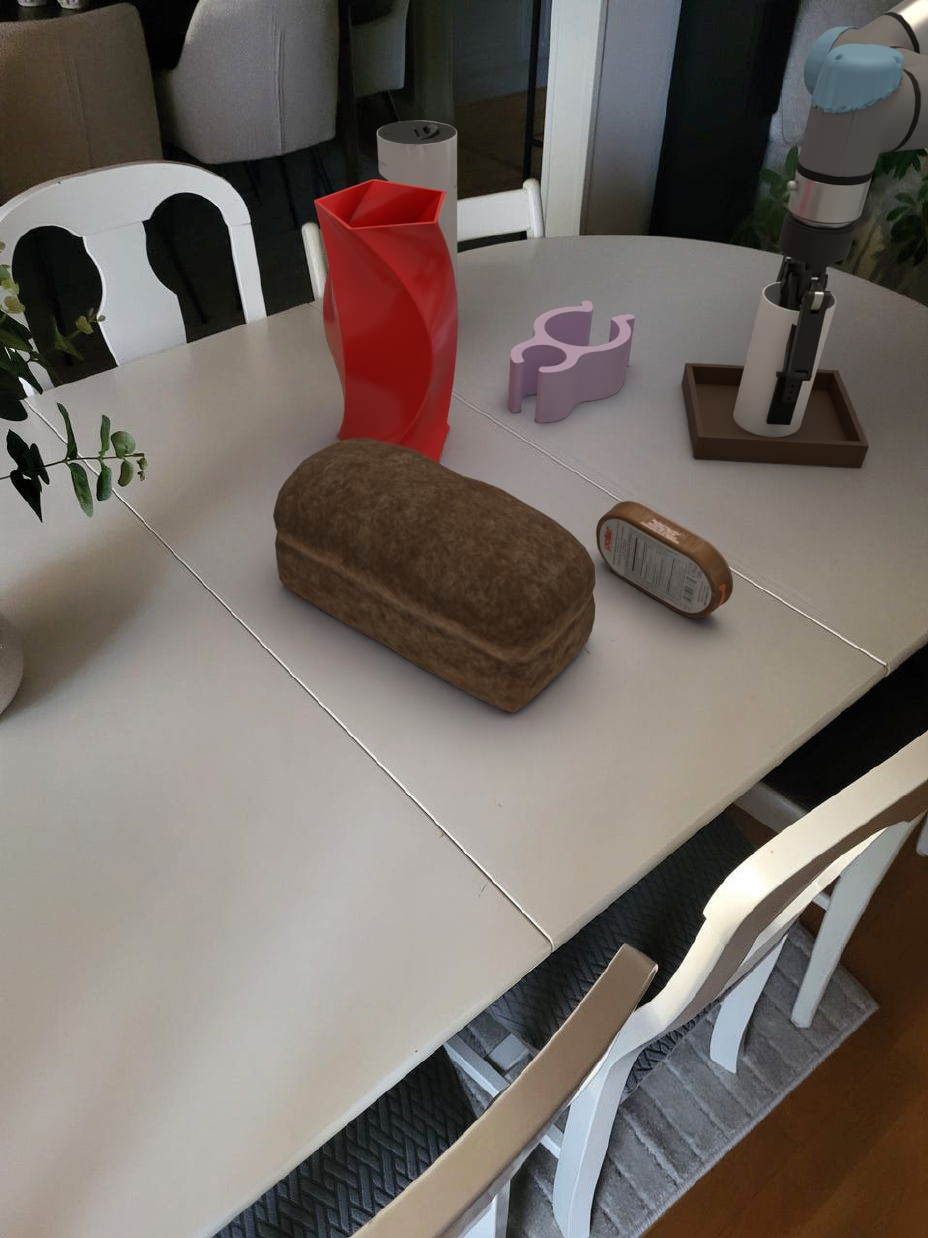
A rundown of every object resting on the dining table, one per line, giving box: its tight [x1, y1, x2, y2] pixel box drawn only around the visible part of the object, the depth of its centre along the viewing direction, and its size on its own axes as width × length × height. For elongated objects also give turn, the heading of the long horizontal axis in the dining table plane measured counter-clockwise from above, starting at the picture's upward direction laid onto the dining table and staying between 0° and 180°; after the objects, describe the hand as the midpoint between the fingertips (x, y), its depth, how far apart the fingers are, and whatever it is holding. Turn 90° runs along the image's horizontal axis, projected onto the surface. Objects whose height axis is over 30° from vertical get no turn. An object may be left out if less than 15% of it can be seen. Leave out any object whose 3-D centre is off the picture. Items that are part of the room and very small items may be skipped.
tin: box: [595, 500, 734, 619], centre depth 92 cm, size 15×3×8 cm, turn 44°
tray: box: [681, 362, 870, 469], centre depth 117 cm, size 20×18×3 cm
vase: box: [313, 178, 459, 464], centre depth 104 cm, size 15×14×28 cm
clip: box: [507, 300, 636, 424], centre depth 122 cm, size 20×12×7 cm, turn 144°
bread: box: [272, 438, 597, 714], centre depth 87 cm, size 15×32×16 cm, turn 53°
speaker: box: [376, 119, 459, 307], centre depth 128 cm, size 11×10×26 cm
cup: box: [733, 281, 838, 437], centre depth 112 cm, size 8×8×16 cm
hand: (771, 401), depth 116 cm, fingers open, 9 cm apart
